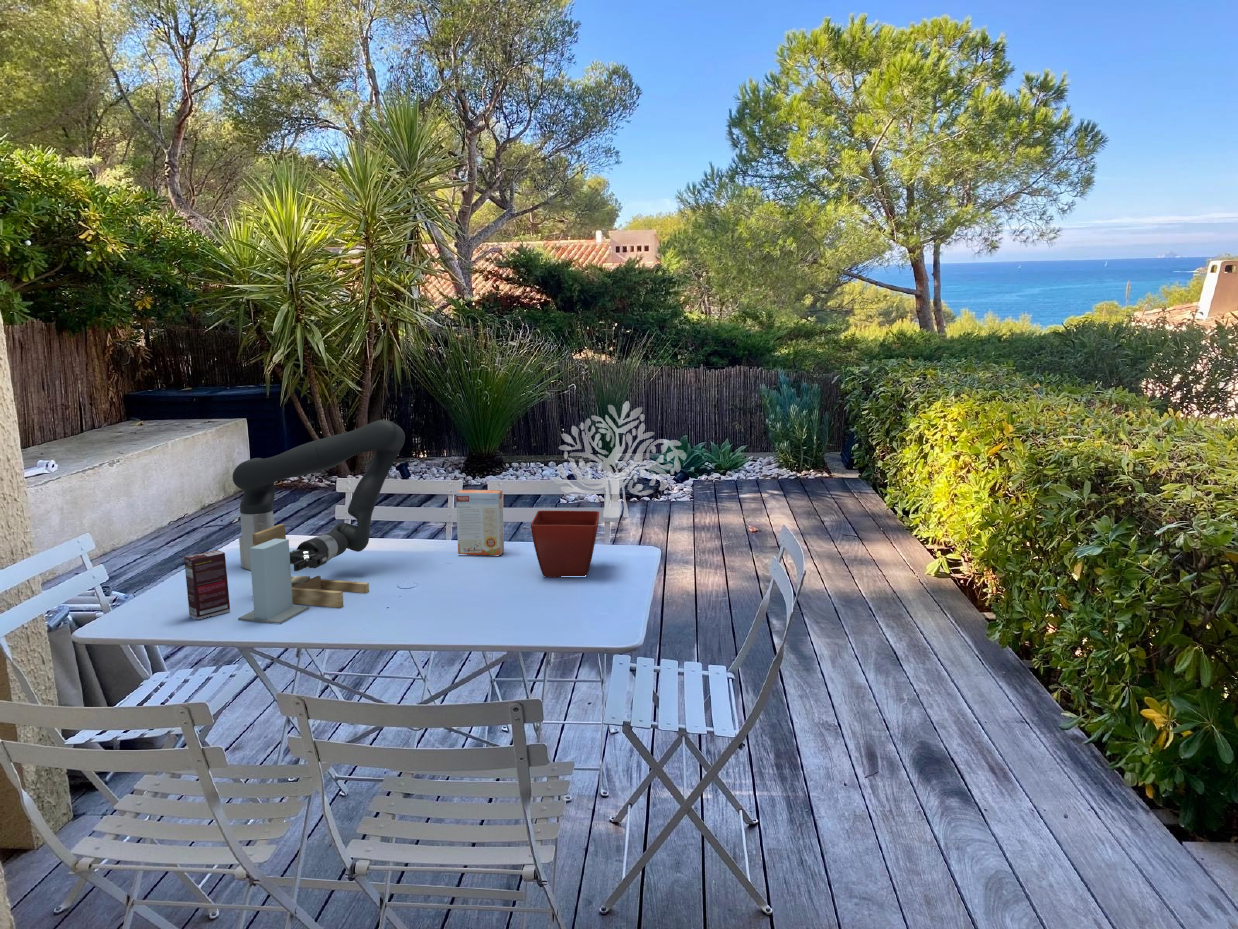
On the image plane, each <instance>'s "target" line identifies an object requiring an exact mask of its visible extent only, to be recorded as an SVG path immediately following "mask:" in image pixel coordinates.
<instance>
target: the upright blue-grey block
mask: <svg viewBox="0 0 1238 929" xmlns="http://www.w3.org/2000/svg"><path fill="white" fill-rule="evenodd" d="M289 541H290V540H289V539H287V538H286V539H272V540H270V541H267V542H264V543H262V544H259V545H256V546H254V547H251V548H250V561H251V570H250V572H251V574H250V575H251V587H252V588H251V589H252V598H253V599H252V602H253V603H252V604H253V610H254V618H261V619H270V618H272V617H274V616H276V615H278V614H280V613H282V612H283V611H285V610H287V609H289V608H291V607H293V605H294V604H293V601H292V585H291V577H292V574H291V570H292V569H291V565H290V553H289V552H290V542H289Z"/></svg>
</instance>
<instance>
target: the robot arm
mask: <svg viewBox="0 0 1238 929" xmlns="http://www.w3.org/2000/svg"><path fill="white" fill-rule="evenodd" d="M405 440H406V435H405V432H404V430H403V428H401V426H399V425H398V424H396V423H394V422H393V421H390V420H388V419H378V420H375V421H373V422H370V423H368V424H365V425H363V426H360V427H358V428H356V429H353V430H350V431H347V432H343V433H339V434H334V435H331V436H327V437H324V438H320V439H316V440H313V441H309V442H305V443H304V444H299V445H298V446H295V447H292V448H290V449H289V450H286V451H284V452H281V453H280V454H276V455H274V456H271V457H266V458H261V457H254V458H251V459H250V458H249V459H248V460H247V459H246V460H245V461H243V462H241V463H238V465H236V467H235V469H234V470H233V473H232V482H233V483H234V485H235V486H236V487H237V488H239V489H240V490H242V491H243V496H242V498H241V499H242V500H241V502H240V504H239V512H240V513H239V514H240V515H239V516H240V526H241V527H240V528H241V536H239V537H238V541H239V544H238V545H239V556H240V558H239V559H240V568H243V569H244V570H245V569H246V570H248V571H249V570H250V571H251V561H250V548H251V547H253V535H252V534H254V533H257V532H259V531H262V530H265V529H268V528H271V527H274V526H275V519H274V501H275V494H276V492H275V483H276V482H279V481H283V480H286V479H291V478H297V477H301V476H302V477H303V476H307V475H310V474H315V473H319V472H323V471H326V470H329V469H332V468H335V467H337V466H338V465H341V464H342V463H343V462H346V461H347V460H349V459H350V458H352V457H354V456H357V455H360V454H362V453H363V454H364V453H367V452H372V451H374V454H373V457H372V460H371V462H370V464H369V466H368V468H367V470H366V471H365V472H364V474H363V476H362V477H361V479H360V480H359V481H358V482H357V485H356V487H355V489H354V491H353V494H352V496H351V499H350V502H349V504H348V508H347V513H348V514H349V516H351V517H353V518H354V519H356V522H357V525H353V524H351V523H347V522H339V523H337V524H336V525H335V526H334V527H333V528H332V529H331V530H330V531H329V532H327V533H325V534H321V535H318V536H315V537H312V538H309V539H308V540H305V541H303V542H301V543H299V544H298V546H297V548H296V549H293V550H292V551H289V553H290V566H293V571H294V572H299V571H302V570H304V569H306V570H307V569H318V568H320V567H321V566H323V565H325V564H327V562H329V561H331V560H332V559H333V558H335V557H338V556H340V555H342V554H343V553H345V552H346V550H347V549H348V550H350V551H353V552H362V551H364V550H365V548H366V547H367V546H368V544H369V541H370V536H371V535H370V534H371V522H372V516H373V513H374V509H375V508H376V504H377V502H378V498H379V496H380V493H381V490H382V488H383V486H384V483H385V481H386V480H387V479H386V478H387V476H388V475H389V473H390V470H391V469H392V467H393V464H394V462H395V461H396V458H397V457H398V455H399V454H400V452H401V451H402V448H403V446H404V444H405Z"/></svg>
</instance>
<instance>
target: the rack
mask: <svg viewBox="0 0 1238 929" xmlns="http://www.w3.org/2000/svg"><path fill="white" fill-rule="evenodd" d="M252 535H253V547H254V546H256V545H259V544H262V543H264V542H267V541H270V540H272V539H287V537H286V536H287V535H286V524H285V523H279V524H277V525H274V527H271V528H268V529H265V530H262V531H259V532H257V533H254V534H252ZM294 577H295V576H291V580H292V579H293V578H294ZM344 592H347V593H358V594H359V593H361V594H367V593H369V592H370V584H369V582H362V581H351V580H349V581H348V580H338V579H336V580H335V579H323V578H322V576H321V575H316V576H314V577H310V580H308V581H306V582H303V583H301V584H299V585H297V586H295V587H292V601H293V605H300V606H312V607H313V606H315V607H324V608H326V607H327V608H336V609H341V608H343V607H344Z"/></svg>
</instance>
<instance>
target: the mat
mask: <svg viewBox="0 0 1238 929" xmlns="http://www.w3.org/2000/svg"><path fill="white" fill-rule="evenodd" d="M309 609H310V608H309V606H307V605H295V604H293V607H291V608H289V609H287V610H285V611H283V612H282V613H280V614H278V615H276V616H274V617H272V618H270V619H261V618H254V609H253V610H252V611H249V612H247V613H245V614H243V615H241V616H239V617H238V618H237V620H238V621H240V620H247V621H246V622H251V621H254V622H255V623H263V624H272V623H282V624H284V623H285V622H288V621H289V620H291V619H293V618H295V617H296V616H299V615H300V614H302V613H304V612H306V611H308V610H309ZM254 622H253V623H254ZM283 622H284V623H283Z"/></svg>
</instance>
